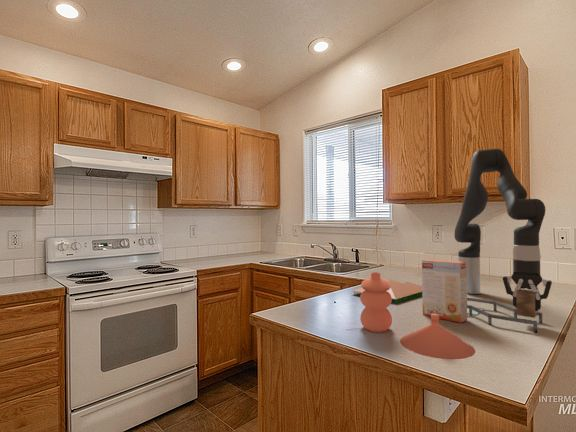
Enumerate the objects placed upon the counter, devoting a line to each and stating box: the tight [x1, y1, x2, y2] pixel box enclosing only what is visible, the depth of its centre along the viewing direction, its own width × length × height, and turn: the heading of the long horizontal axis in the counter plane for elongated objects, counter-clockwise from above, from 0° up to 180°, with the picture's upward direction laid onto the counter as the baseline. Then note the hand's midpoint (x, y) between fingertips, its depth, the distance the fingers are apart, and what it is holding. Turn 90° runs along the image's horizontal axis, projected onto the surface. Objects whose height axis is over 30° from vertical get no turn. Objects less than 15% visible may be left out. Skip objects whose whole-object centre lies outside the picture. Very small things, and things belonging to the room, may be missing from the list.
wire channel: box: [467, 297, 544, 334], centre depth 128 cm, size 32×22×4 cm
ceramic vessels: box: [359, 271, 476, 360], centre depth 104 cm, size 35×21×19 cm, turn 43°
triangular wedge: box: [352, 279, 422, 305], centre depth 161 cm, size 23×33×8 cm
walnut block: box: [516, 288, 538, 319], centre depth 116 cm, size 5×5×8 cm
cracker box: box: [421, 258, 468, 324], centre depth 126 cm, size 14×6×21 cm, turn 41°
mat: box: [467, 307, 485, 316], centre depth 136 cm, size 10×11×1 cm
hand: (526, 308), depth 116 cm, fingers closed on walnut block, 5 cm apart
